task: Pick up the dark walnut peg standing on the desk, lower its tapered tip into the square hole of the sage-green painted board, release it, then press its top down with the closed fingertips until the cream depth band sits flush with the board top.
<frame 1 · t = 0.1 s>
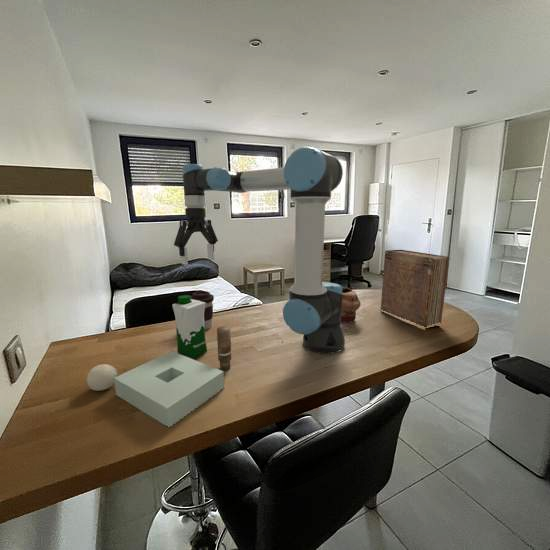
hand: (198, 262, 115), 28 cm above the breakfast bar, fingers open, 13 cm apart
coffee cup: (203, 327, 122), on the breakfast bar
book: (408, 319, 130), on the breakfast bar
milk carton: (192, 353, 99), on the breakfast bar
board: (171, 391, 78), on the breakfast bar
decorative planter: (340, 319, 131), on the breakfast bar
peg: (225, 367, 90), on the breakfast bar
baseball: (104, 388, 80), on the breakfast bar
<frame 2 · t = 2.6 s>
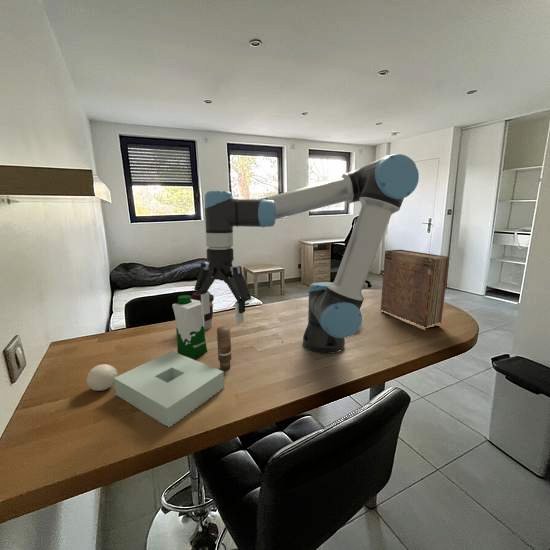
hand: (222, 318, 86), 16 cm above the breakfast bar, fingers open, 13 cm apart
nothing on the breakfast bar moved.
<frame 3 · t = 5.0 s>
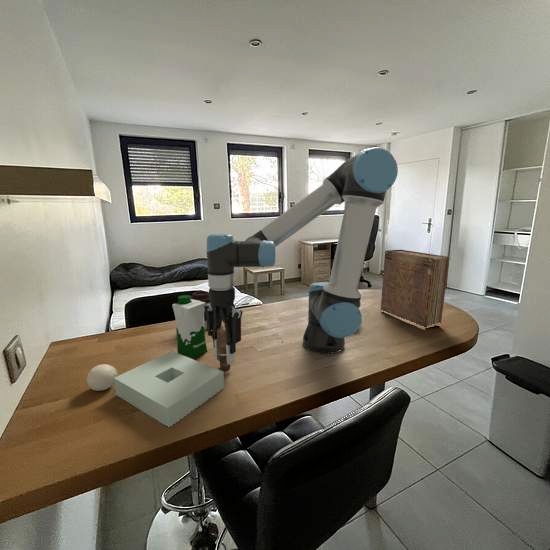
hand: (224, 359, 89), 3 cm above the breakfast bar, fingers closed on peg, 4 cm apart
peg: (225, 367, 90), on the breakfast bar, touching gripper
everything else where it was.
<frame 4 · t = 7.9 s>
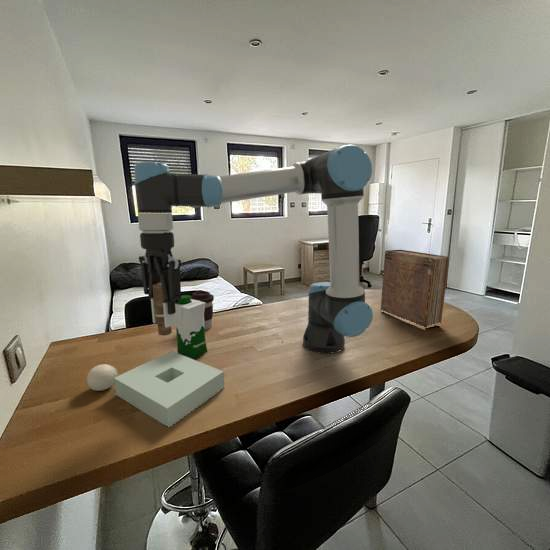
hand: (164, 323, 74), 20 cm above the breakfast bar, fingers closed on peg, 4 cm apart
peg: (165, 332, 74), point 17 cm above the breakfast bar, touching gripper
everything else where it was.
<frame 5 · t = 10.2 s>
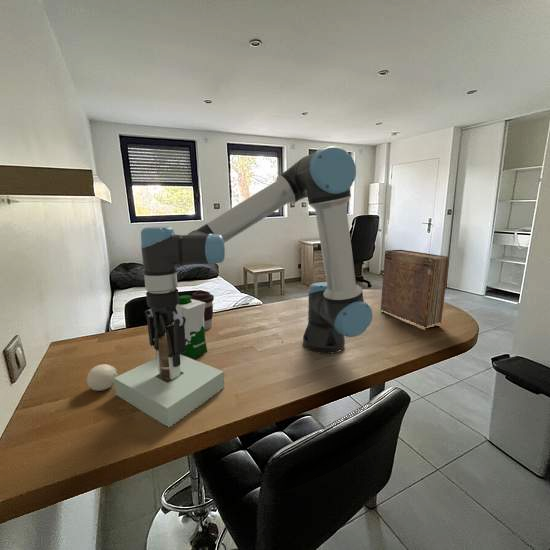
hand: (169, 373, 77), 5 cm above the breakfast bar, fingers closed on board, peg, 4 cm apart
peg: (170, 382, 78), point 3 cm above the breakfast bar, touching gripper
everything else where it was.
when the fingers open (5 cm above the breakfast bar, at t = 10.9 s): peg drops 3 cm, resting in board.
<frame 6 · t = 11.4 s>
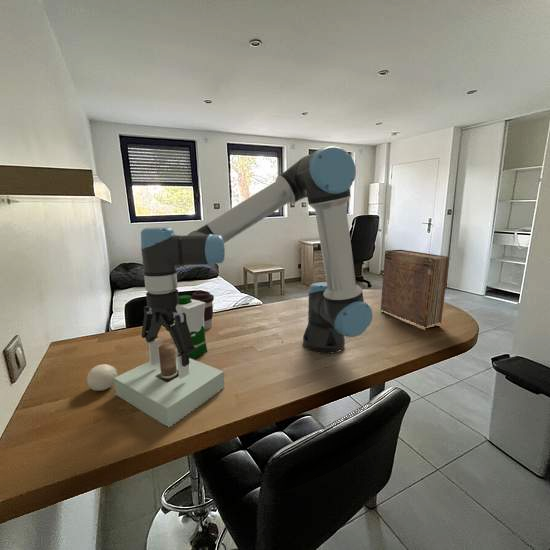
hand: (169, 369, 77), 7 cm above the breakfast bar, fingers open, 11 cm apart
peg: (170, 391, 78), resting in board
everything else where it was.
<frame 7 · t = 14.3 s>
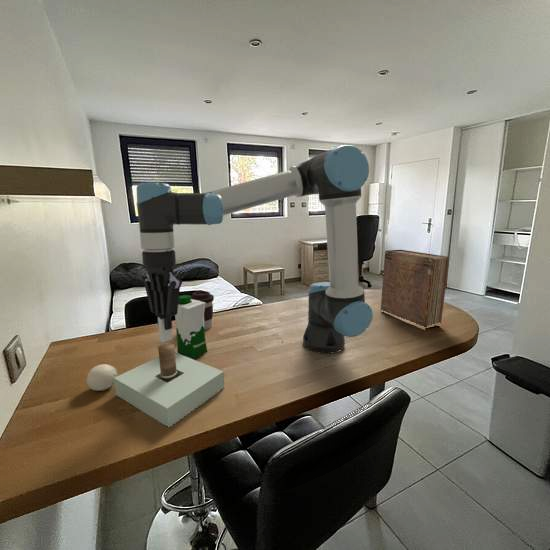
hand: (166, 339, 75), 15 cm above the breakfast bar, fingers closed
nothing on the breakfast bar moved.
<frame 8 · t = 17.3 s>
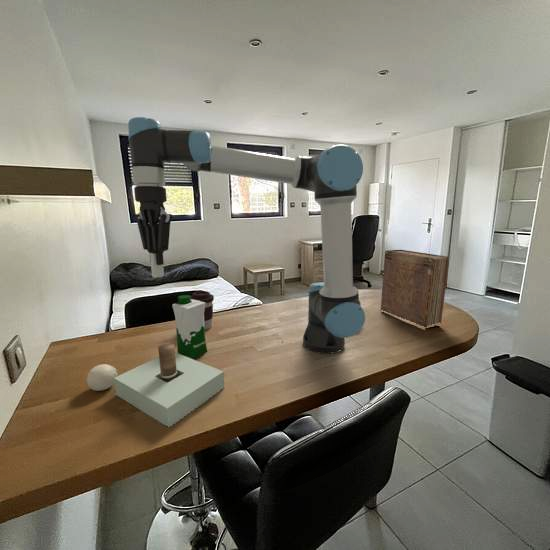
hand: (158, 276, 79), 30 cm above the breakfast bar, fingers closed
nothing on the breakfast bar moved.
at the end: peg 0.3 cm off-centre on the board, point 0.0 cm above the board's base; peg tilted 0°; the gripper is holding nothing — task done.
